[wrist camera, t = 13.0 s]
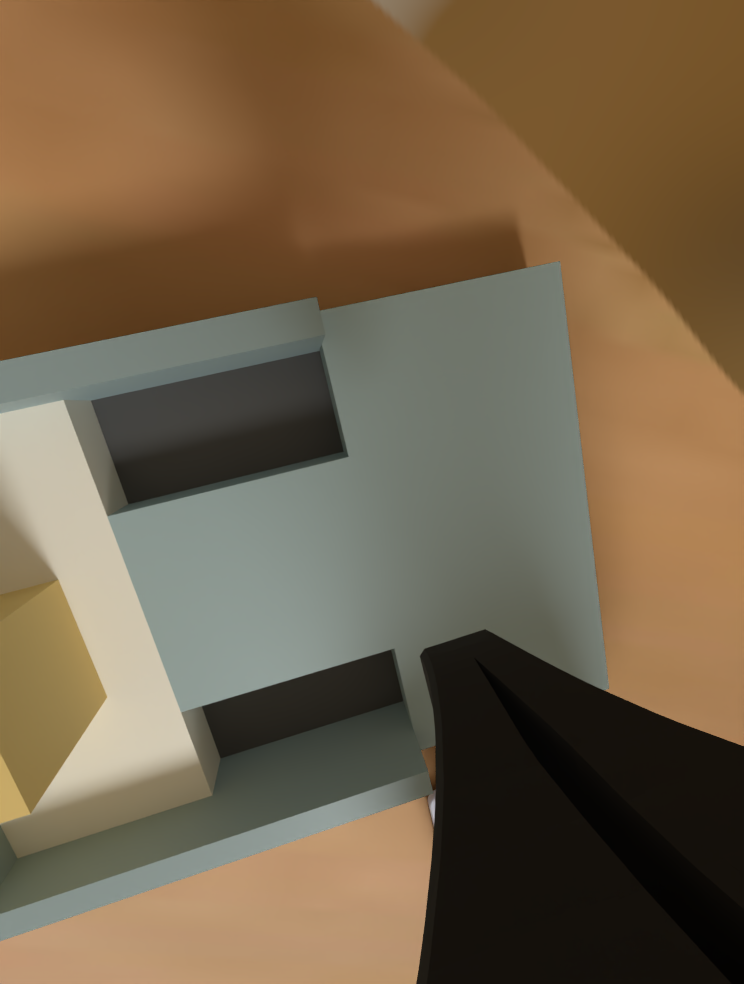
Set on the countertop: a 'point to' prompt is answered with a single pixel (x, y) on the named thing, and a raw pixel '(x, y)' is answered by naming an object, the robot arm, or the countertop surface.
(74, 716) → the ochre block
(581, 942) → the robot arm
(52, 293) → the countertop surface
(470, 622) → the trap tray
